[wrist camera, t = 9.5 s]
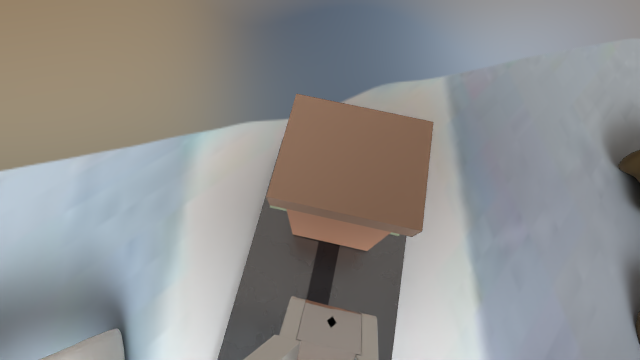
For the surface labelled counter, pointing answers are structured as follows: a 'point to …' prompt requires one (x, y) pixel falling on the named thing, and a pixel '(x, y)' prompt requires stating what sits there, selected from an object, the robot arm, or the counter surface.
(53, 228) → the counter surface
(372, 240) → the fader knob
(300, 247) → the fader track
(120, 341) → the spoon rest
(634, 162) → the kendama
